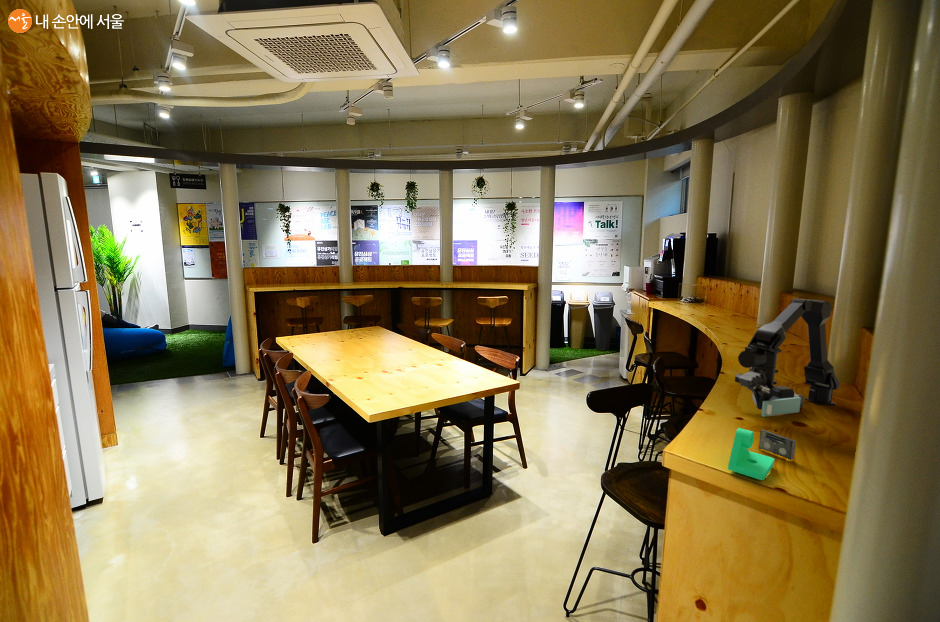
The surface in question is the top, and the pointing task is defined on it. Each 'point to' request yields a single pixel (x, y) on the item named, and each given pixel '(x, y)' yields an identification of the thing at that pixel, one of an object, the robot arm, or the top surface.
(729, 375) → the top surface
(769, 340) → the robot arm
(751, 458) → the camera mount
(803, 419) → the top surface
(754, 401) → the block
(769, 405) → the side door
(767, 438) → the mini dv tape
